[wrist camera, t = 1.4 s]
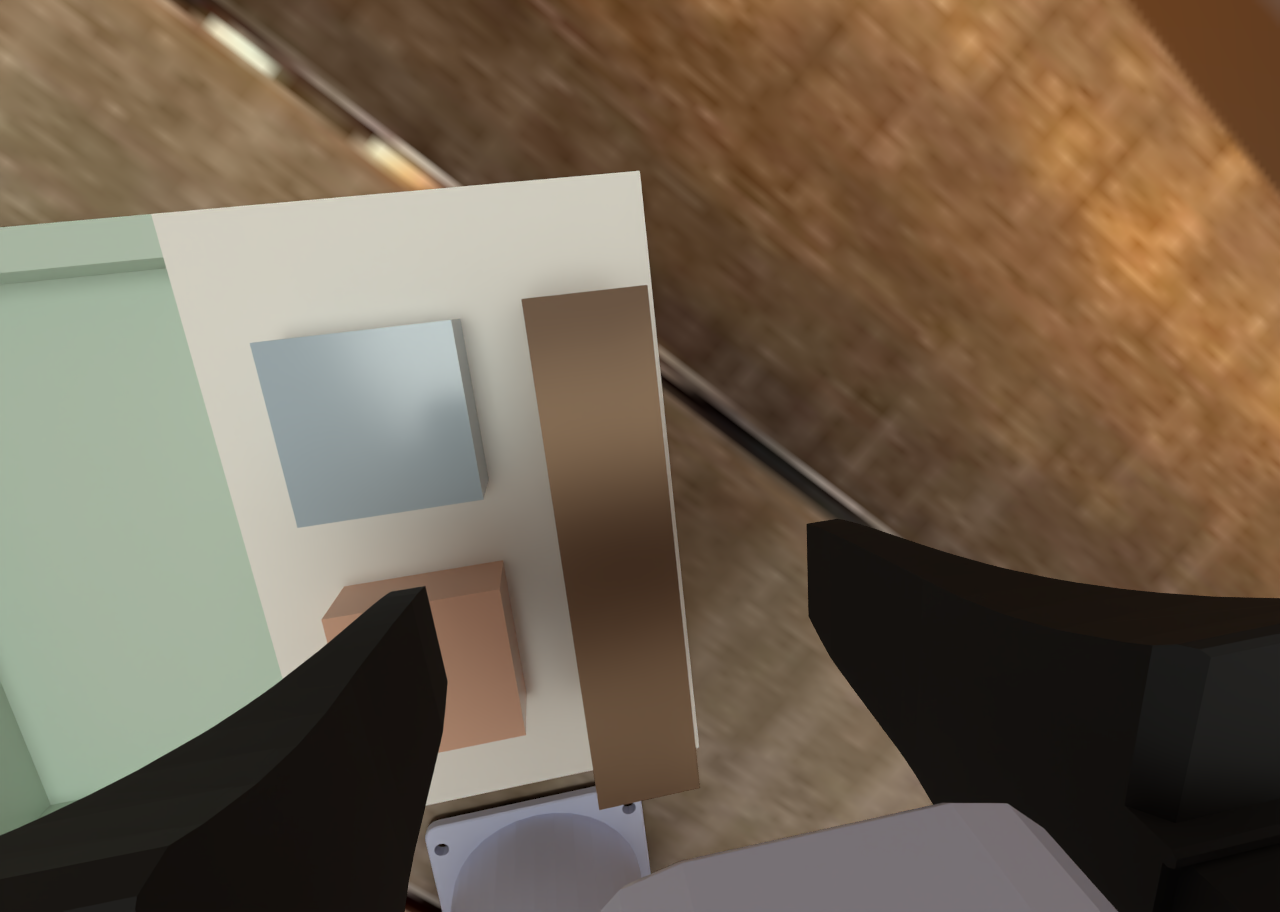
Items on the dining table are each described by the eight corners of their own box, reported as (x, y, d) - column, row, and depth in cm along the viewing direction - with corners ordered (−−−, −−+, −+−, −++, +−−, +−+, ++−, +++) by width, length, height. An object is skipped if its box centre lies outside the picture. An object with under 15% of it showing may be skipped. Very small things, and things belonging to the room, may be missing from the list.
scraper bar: (660, 674, 20) (699, 787, 16) (583, 689, 20) (599, 810, 15) (616, 290, 17) (647, 284, 13) (524, 301, 17) (521, 299, 12)
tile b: (488, 479, 18) (483, 499, 16) (323, 503, 17) (297, 527, 16) (460, 318, 17) (450, 319, 15) (283, 338, 16) (249, 343, 14)
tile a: (526, 693, 20) (525, 734, 18) (377, 722, 19) (359, 768, 17) (503, 559, 19) (499, 589, 17) (343, 586, 18) (321, 619, 16)
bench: (679, 695, 24) (699, 747, 21) (351, 760, 23) (324, 827, 20) (624, 191, 20) (640, 170, 17) (211, 229, 18) (150, 213, 15)
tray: (351, 760, 23) (324, 827, 20) (40, 822, 21) (-37, 903, 18) (211, 229, 18) (150, 213, 15) (-191, 266, 17) (-340, 257, 14)
